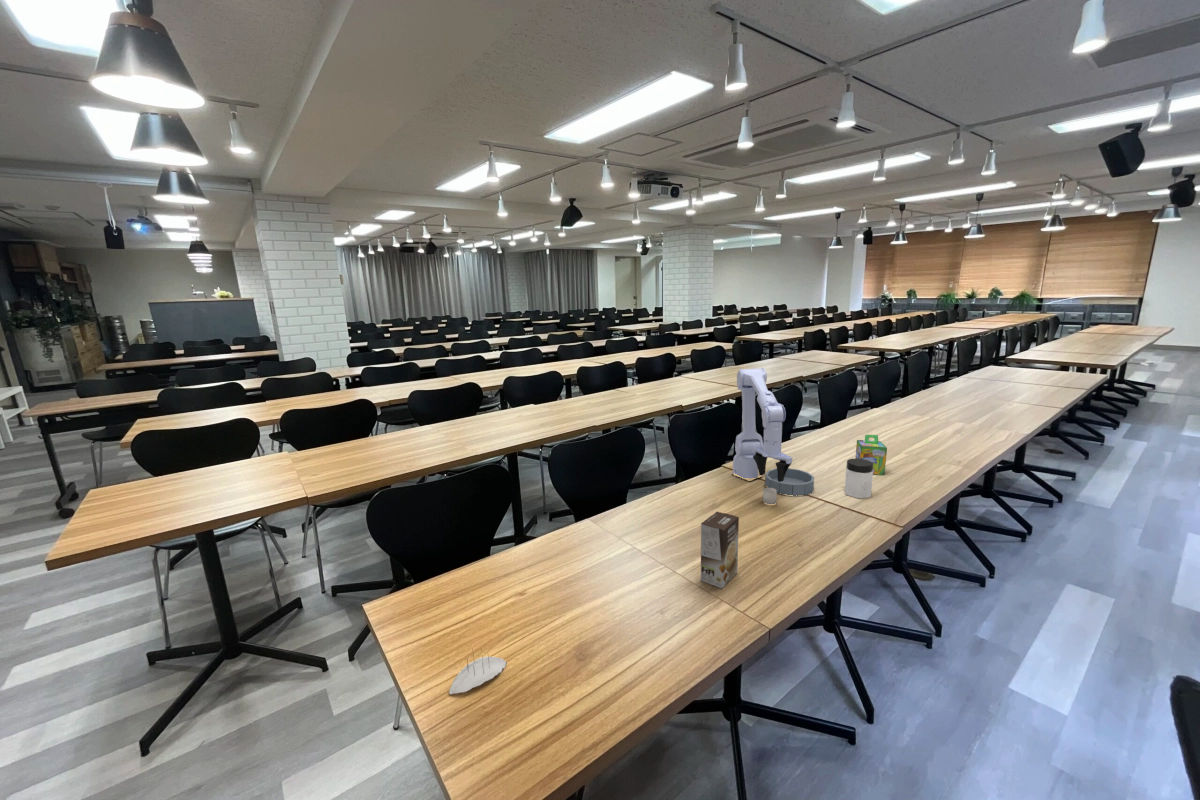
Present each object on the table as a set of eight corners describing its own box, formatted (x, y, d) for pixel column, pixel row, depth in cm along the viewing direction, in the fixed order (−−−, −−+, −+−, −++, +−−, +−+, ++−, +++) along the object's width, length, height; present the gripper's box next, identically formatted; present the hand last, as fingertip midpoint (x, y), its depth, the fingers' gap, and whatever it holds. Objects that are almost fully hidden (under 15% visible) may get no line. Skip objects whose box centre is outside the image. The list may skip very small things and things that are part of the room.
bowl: (756, 485, 179) (756, 474, 178) (784, 475, 187) (785, 465, 186) (793, 500, 165) (794, 488, 164) (822, 489, 173) (823, 477, 172)
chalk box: (859, 474, 186) (861, 438, 183) (854, 466, 195) (856, 431, 191) (885, 475, 183) (888, 439, 180) (879, 467, 192) (882, 432, 189)
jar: (853, 499, 164) (855, 467, 161) (838, 490, 171) (840, 459, 169) (877, 497, 165) (879, 464, 162) (861, 488, 173) (863, 457, 170)
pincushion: (456, 706, 87) (452, 680, 85) (443, 686, 91) (440, 661, 90) (513, 672, 94) (511, 648, 93) (499, 655, 99) (497, 632, 97)
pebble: (760, 502, 164) (760, 489, 163) (768, 499, 167) (768, 486, 166) (770, 507, 161) (770, 493, 160) (778, 503, 163) (779, 490, 162)
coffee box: (723, 589, 117) (723, 530, 114) (699, 580, 121) (699, 523, 118) (738, 572, 124) (739, 516, 120) (715, 564, 128) (716, 510, 124)
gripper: (747, 437, 163) (746, 474, 166) (783, 447, 151) (781, 487, 154) (761, 433, 166) (760, 469, 169) (797, 443, 154) (795, 481, 157)
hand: (771, 477), depth 162 cm, fingers open, 7 cm apart
